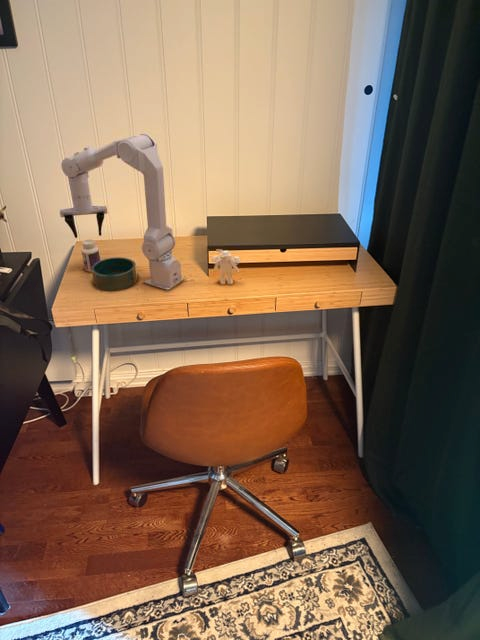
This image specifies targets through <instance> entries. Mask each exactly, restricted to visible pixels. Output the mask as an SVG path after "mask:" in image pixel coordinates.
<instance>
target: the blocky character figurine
mask: <svg viewBox="0 0 480 640" xmlns="http://www.w3.org/2000/svg"><path fill="white" fill-rule="evenodd" d="M215 250H216V252H217V253H219V256H220V257H219V256H218V255H217V254H216V255H215V254H214V256H212V259H211V263H213V265H214V267H213V272H214V273H216V272H217V270H218V271H220V281H219V283H220V284H221V285H225V284H226V283H227V284H228V285H233V283H234V282H233V281H234V280H233V275H232V270H234V272H236V273H237V274H239V273H240V269H239V268H238V265H239V264H241V261H242V260H241V259H240V256H238V255H235V256H233V257H232V253H231V252H230V251H229V250H223V249H218V248H217V249H215ZM226 275H227V282H226Z"/></svg>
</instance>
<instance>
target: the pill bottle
mask: <svg viewBox="0 0 480 640" xmlns="http://www.w3.org/2000/svg"><path fill="white" fill-rule="evenodd" d="M81 244H82V248H81V249H80V250H81V256H82V261H83V266H84V270H85V271H86V272H89V273H92V271H91V268H92V266H93V265H94V264H95V263H97V262H98V261H101V257H100V252H99V247H98V246H97V245H96V241H95V240H94V239H84V240H83V241H82V242H81Z"/></svg>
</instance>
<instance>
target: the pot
mask: <svg viewBox="0 0 480 640" xmlns="http://www.w3.org/2000/svg"><path fill="white" fill-rule="evenodd" d="M91 271H92V272H91V276H92V281H93V285H94V286H95V288H97V289H99V290H102V291H107V292H108V291H109V292H114V291H121V290H122V291H123V290H126V289H128V288H131V287H132V286H134V285H135V284H136V283H137V282H138V272H137V264H136V262H135V260H133V259H131V258H127V257H120V256H117V257H108V258H104V259H100V261H98V262H97V263H95V264H94V265H93V266H92V268H91Z"/></svg>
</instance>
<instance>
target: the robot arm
mask: <svg viewBox="0 0 480 640" xmlns="http://www.w3.org/2000/svg"><path fill="white" fill-rule="evenodd" d="M115 156H116V159H120V160H121V161H122V162H124V163H125V164H126V165H128V166H130V167H131V168H133V169H135V170H136V171H138V172H140V174H142V175H143V183H144V184H143V185H144V197H145V210H146V222H147V227H146V231H145V232H144V235H143V243H142V245H141V250H142V253H143V255H144V256H145V258H146V259H147V260H148V267H149V275H150V276H149V277H150V278H149V279H147V280H145V281H144V283H145V284H147V285H149V286H153V287H157V288H159V289H163V290H166V291H169V290H171V289H173V288H174V287H176V286H177V285H178V284H180V283H182V282H183V281H184V279H183V278H182V268H181V267H182V265H181V262H180V261H179V260H178V259H177V258H175V257H174V256H173V255H172V253H173V249H174V248H175V246H176V239H175V237H174V234H173V228H171V227H170V226H168V225H167V215H166V213H167V211H166V195H165V179H164V178H165V177H164V166H163V163H162V161H161V159H160V156H159V153H158V143H157V142H156V141H155V139H153V138H152V136H150V135H149V134H147V133H141V134H139V135H132V136H127V137H124V138H121V139H118V140H113V141H112V142H110V143H108V144H106V145H104V146H102V147H100V148H97V147H94V146H92V147H91V146H86V147H84V148H83V151H81V152H79V151H77V152H74V153H73V156H69V157H65V158H64V159H62V161H61V163H60V164H61V165H60V166H61V167H60V168H61V170H62V172H63V174H64V175H65V176H66V177H67V179H68V180H67V181H68V185H69V190H70V195H71V196H70V197H71V200H72V205H73V207H69V208H63V209H59V215H60V218H64V222H65V223H66V224H67V226H68V227H69V228H70V230H71V232H72V234H73V236H74V238H75V239H77V238H78V230H77V227H76V223H75V217H76V216H85V215H87V216H88V215H95V218H96V222H97V227H98V229H97V231H98V237H101V236H102V227H103V223H104V219H105V215H106V214H108V207H107V205H93V202H92V197H91V191H90V185H89V184H90V183H89V177H90V176H89V175H90V174H89V173H90V172H91V171H93V170H95V169H98V168H100V167H102V166H103V164H104V160H107V159H110V158H113V157H115ZM74 216H75V217H74Z"/></svg>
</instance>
